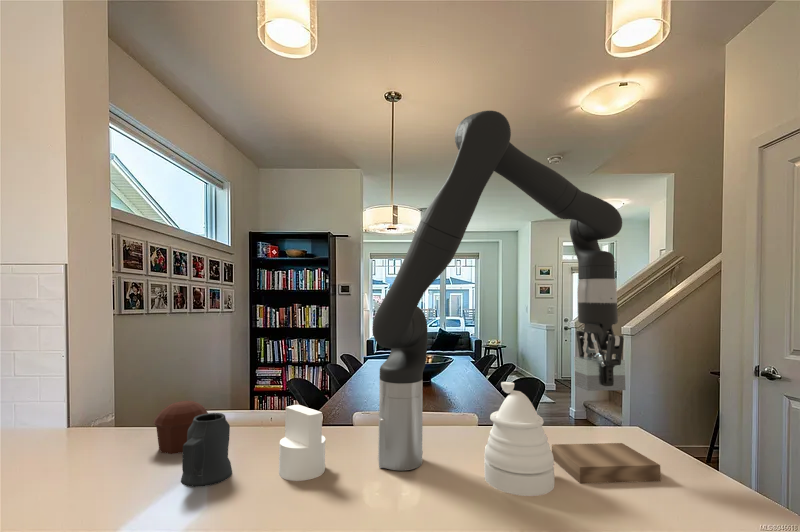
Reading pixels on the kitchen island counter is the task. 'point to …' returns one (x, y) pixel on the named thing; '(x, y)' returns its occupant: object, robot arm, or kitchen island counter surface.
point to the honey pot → (518, 448)
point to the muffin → (176, 425)
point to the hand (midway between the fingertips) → (599, 382)
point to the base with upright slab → (302, 445)
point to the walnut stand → (605, 463)
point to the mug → (206, 451)
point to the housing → (597, 374)
